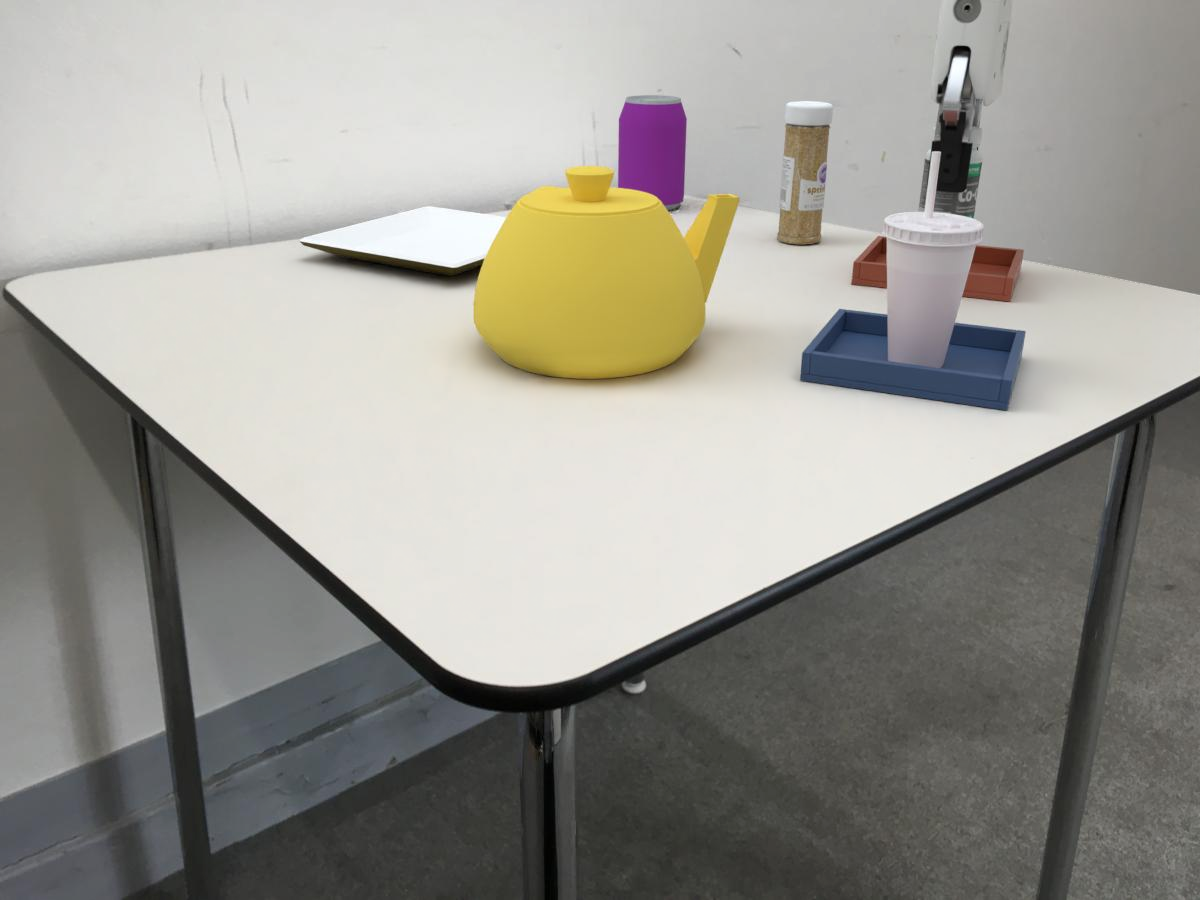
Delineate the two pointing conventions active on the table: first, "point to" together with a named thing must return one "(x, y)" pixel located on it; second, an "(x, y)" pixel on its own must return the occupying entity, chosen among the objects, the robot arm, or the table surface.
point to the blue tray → (968, 375)
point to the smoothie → (926, 277)
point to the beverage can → (653, 147)
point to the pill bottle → (955, 200)
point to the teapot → (598, 279)
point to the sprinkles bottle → (804, 171)
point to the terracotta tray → (985, 280)
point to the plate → (416, 240)
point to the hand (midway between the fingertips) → (950, 183)
